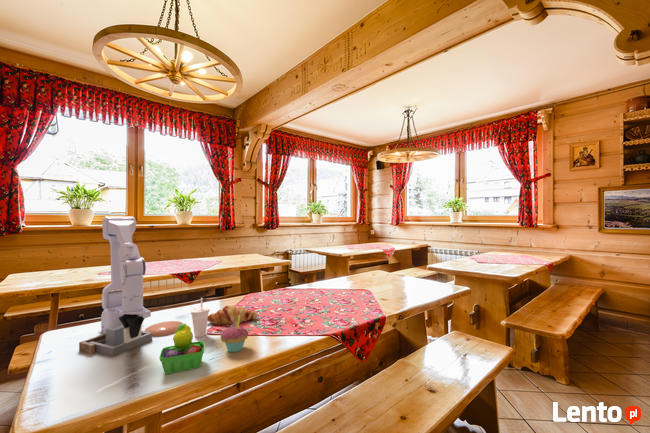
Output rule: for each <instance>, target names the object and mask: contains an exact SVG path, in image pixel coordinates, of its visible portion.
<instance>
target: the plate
mask: <svg viewBox="0 0 650 433" xmlns="http://www.w3.org/2000/svg"><path fill="white" fill-rule="evenodd" d="M181 324H184V323H183V322H182V321H178V320H169V321H168V320H167V321H162V322H157V323H155V324H152V325H151V324H150V325H149V326H147V327H146V328H145V329H144V331H145V332H150V333H152V338H153V337H164V336H169V335H173V334H175V333H176V330H177V329H178V326H179V325H181Z"/></svg>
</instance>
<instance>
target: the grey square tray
mask: <svg viewBox="0 0 650 433" xmlns="http://www.w3.org/2000/svg"><path fill="white" fill-rule="evenodd" d="M152 340H153V337H152V333H150V332H145V330H142V327H141V328H140V331H139V335H138V336H137V337H135V338H131V337H130V330H129V327H128V328H125V329H124V343H122V344H120V345H117V346H115V347H113V346H109V345H106V339H103V340H100V341H97V342H93V341H92V342H89V343H92V344H95V353H97V354H101V355H105V356H108V357H112V358H113V357H115V356H117V355H120V354H121V353H124V352H127V351H130V350H132V349H134V348H136V347H139V346H142V345H144V344H146V343H147V342H148V343H149V342H151V341H152Z"/></svg>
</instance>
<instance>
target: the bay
mask: <svg viewBox="0 0 650 433" xmlns="http://www.w3.org/2000/svg"><path fill="white" fill-rule="evenodd" d="M103 339H106V333H105V334H104V333H102V334H100V335H97V336H94V337H91V338H88V339H85V340H83V341H80V342H79V344H78V346H79V348H78V351H79V352H82V353H84V354H89V355H93V354H95V353H96V352H95V344H92V343H89V342H92V341H93V342H97V341H100V340H103Z"/></svg>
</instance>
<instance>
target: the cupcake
mask: <svg viewBox="0 0 650 433" xmlns="http://www.w3.org/2000/svg"><path fill="white" fill-rule="evenodd" d="M239 321H240V314H239V315H238V321H237V326H236V327H235V326H233V327H231V326H230V327H227V328H226V329H225V330H224V331H223V332H222V333H221V336H220V341H221V342H223V343H224V344H225V346H226V349H227V351H228V352H230V353H237V352H240V351H242V350H243V347H244V345H245V342H246V339H248V336H249V331H248V330H247V328H245V327H243V326H240V323H239Z"/></svg>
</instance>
